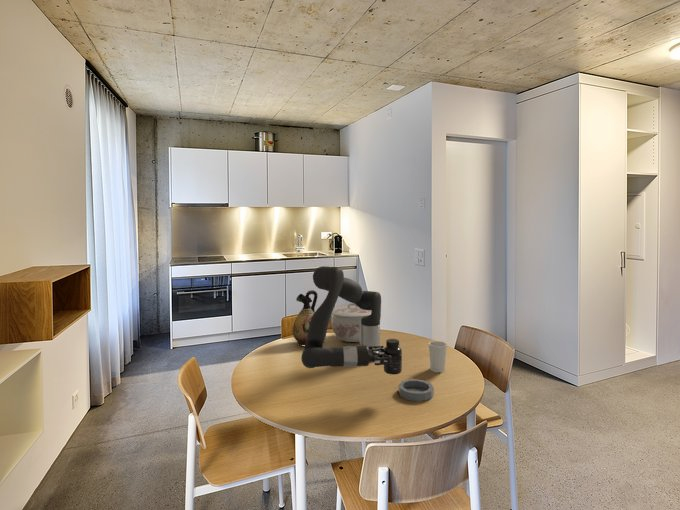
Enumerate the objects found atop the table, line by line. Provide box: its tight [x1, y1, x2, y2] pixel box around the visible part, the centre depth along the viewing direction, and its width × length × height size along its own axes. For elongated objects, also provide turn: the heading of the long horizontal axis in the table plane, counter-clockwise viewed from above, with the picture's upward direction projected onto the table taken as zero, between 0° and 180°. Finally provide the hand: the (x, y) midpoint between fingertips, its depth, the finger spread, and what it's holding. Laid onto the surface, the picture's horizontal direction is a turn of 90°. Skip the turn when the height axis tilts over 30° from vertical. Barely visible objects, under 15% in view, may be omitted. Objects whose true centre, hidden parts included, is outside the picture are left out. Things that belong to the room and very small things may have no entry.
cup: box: [428, 340, 448, 373], centre depth 177 cm, size 8×8×12 cm
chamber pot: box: [330, 303, 371, 343], centre depth 224 cm, size 28×28×21 cm
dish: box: [398, 378, 435, 402], centre depth 153 cm, size 13×13×3 cm
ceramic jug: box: [292, 289, 318, 346], centre depth 215 cm, size 17×15×30 cm
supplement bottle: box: [383, 338, 403, 375], centre depth 148 cm, size 7×7×12 cm
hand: (398, 354), depth 148 cm, fingers closed on supplement bottle, 7 cm apart
